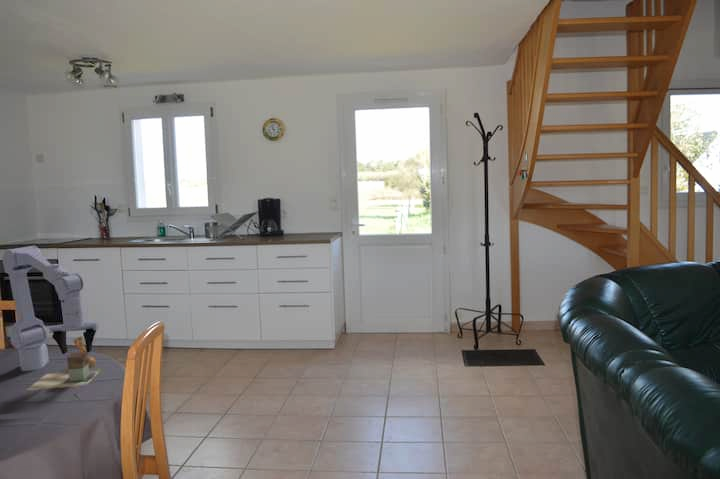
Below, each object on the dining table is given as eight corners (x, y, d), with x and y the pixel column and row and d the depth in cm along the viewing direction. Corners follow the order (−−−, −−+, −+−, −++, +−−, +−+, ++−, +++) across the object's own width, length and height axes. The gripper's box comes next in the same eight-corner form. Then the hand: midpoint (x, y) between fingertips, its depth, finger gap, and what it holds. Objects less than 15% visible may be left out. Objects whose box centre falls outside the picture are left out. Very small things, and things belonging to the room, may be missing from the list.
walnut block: (74, 364, 179) (72, 352, 178) (88, 363, 179) (87, 351, 179) (68, 369, 174) (67, 357, 174) (82, 368, 175) (81, 356, 174)
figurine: (95, 371, 187) (91, 337, 185) (76, 374, 184) (72, 340, 183) (96, 363, 194) (93, 331, 192) (78, 366, 192) (74, 334, 190)
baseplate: (47, 376, 183) (46, 373, 183) (102, 372, 185) (102, 368, 185) (26, 393, 169) (26, 389, 169) (86, 389, 171) (85, 385, 171)
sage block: (75, 375, 179) (74, 364, 179) (89, 374, 180) (88, 363, 179) (69, 381, 175) (68, 369, 174) (84, 380, 175) (82, 368, 175)
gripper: (42, 316, 170) (48, 358, 172) (90, 313, 171) (95, 354, 173) (53, 310, 177) (57, 350, 179) (99, 308, 178) (103, 347, 180)
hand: (76, 352), depth 176 cm, fingers open, 7 cm apart
